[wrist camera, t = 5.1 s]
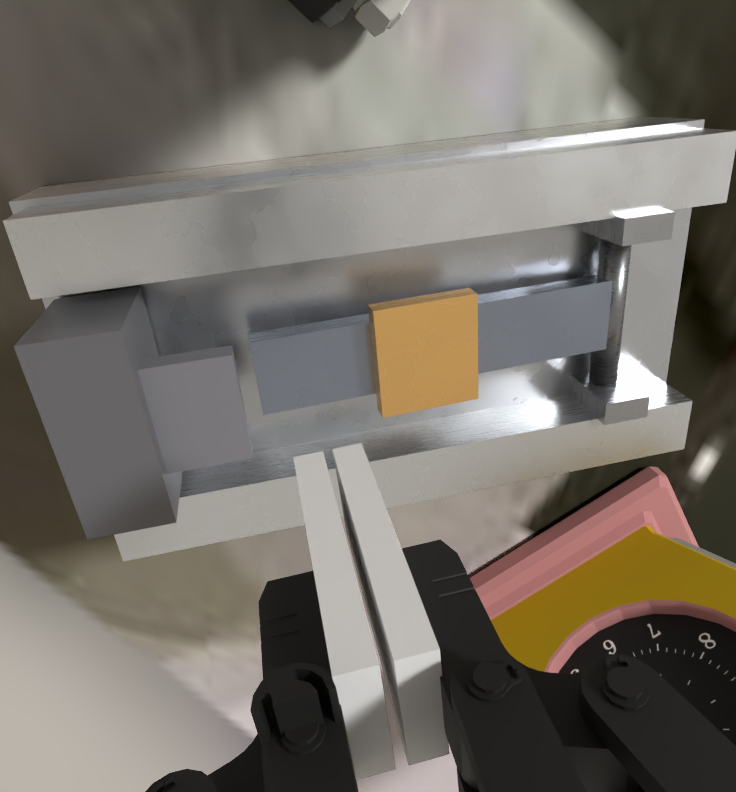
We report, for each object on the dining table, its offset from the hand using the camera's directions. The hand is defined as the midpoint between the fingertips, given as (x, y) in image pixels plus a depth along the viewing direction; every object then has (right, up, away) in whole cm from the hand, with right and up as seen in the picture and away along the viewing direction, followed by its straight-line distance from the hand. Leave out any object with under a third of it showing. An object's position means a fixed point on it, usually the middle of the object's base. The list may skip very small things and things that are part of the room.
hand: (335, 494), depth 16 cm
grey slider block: (-7, +3, +8) cm, 11 cm away
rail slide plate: (+1, +7, +13) cm, 15 cm away
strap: (+4, +5, +9) cm, 11 cm away
